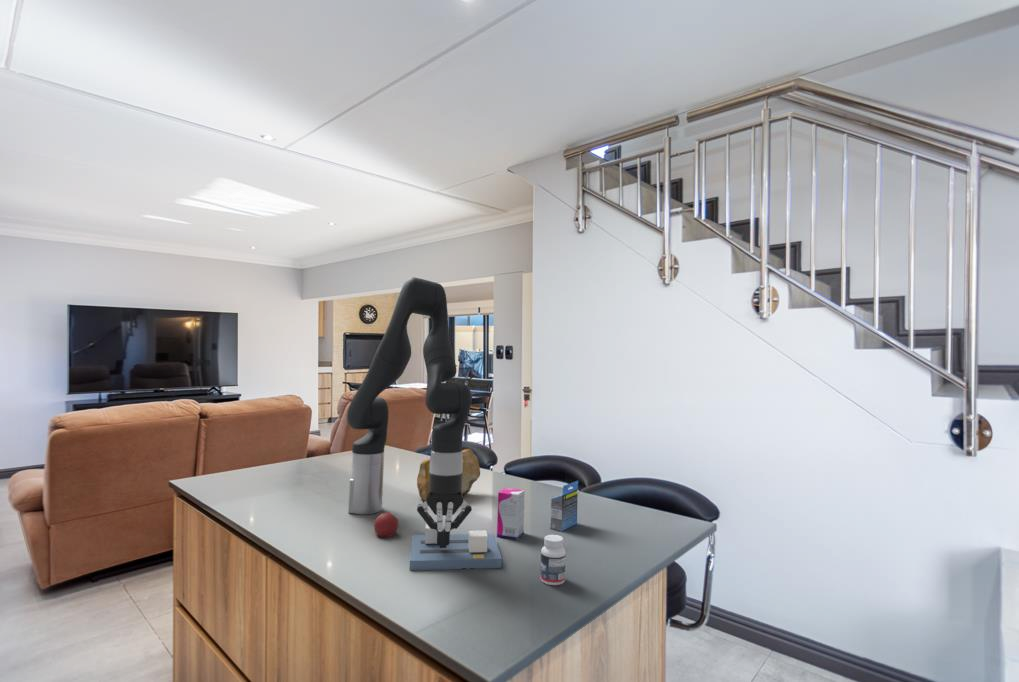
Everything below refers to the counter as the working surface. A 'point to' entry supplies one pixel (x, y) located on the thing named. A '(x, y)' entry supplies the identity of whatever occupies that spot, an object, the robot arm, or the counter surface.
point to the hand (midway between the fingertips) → (443, 546)
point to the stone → (468, 473)
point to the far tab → (430, 535)
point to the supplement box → (510, 513)
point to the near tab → (478, 541)
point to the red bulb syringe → (386, 525)
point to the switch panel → (453, 554)
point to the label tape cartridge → (564, 508)
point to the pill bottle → (553, 560)
